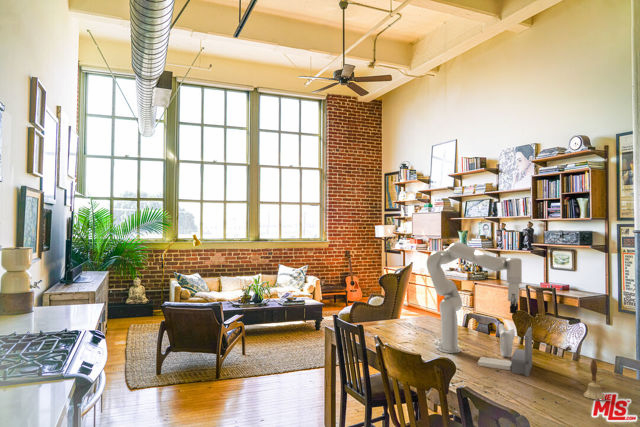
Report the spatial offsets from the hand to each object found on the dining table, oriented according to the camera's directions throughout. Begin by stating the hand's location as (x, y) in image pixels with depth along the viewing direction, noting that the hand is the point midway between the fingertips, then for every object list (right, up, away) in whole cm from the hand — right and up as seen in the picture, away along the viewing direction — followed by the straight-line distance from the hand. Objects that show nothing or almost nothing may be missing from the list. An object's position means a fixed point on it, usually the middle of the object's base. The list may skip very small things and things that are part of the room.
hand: (514, 311), depth 234 cm
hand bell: (+13, -26, -49) cm, 57 cm away
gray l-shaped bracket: (-2, -27, -13) cm, 30 cm away
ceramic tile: (-13, -28, -6) cm, 31 cm away
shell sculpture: (0, -28, +10) cm, 30 cm away
